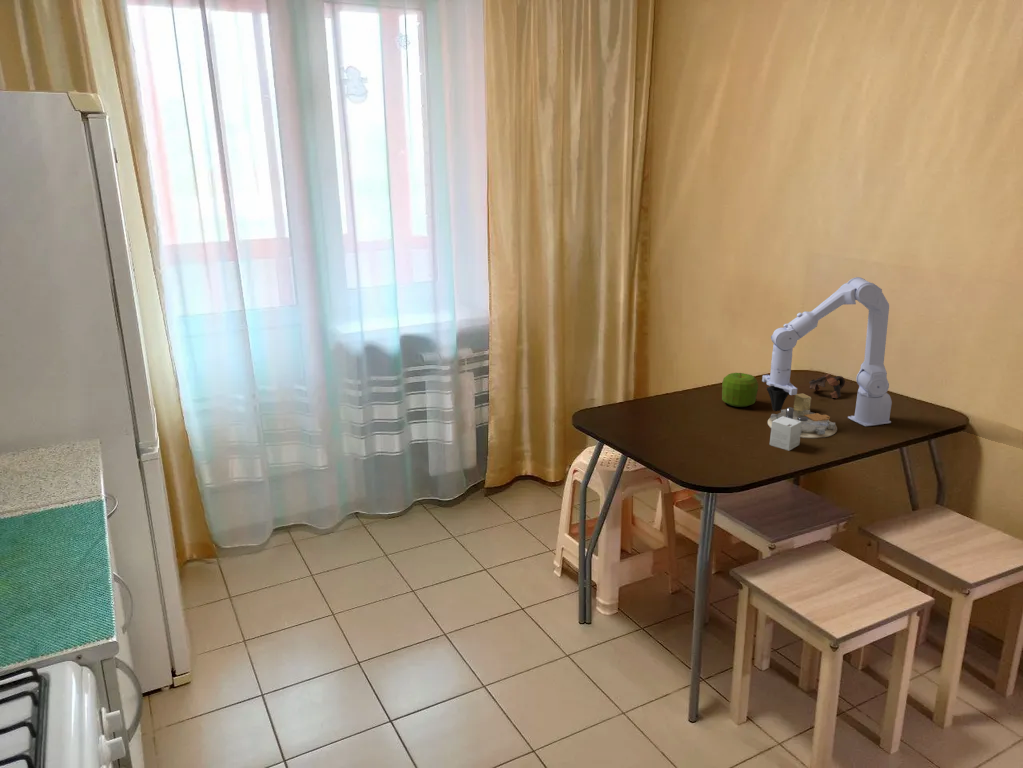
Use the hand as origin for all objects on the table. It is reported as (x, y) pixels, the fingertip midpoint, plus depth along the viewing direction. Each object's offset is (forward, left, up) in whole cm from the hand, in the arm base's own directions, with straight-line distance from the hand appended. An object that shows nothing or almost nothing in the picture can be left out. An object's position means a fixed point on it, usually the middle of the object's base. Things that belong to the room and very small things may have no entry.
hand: (776, 410), depth 229 cm
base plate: (-4, +7, -3) cm, 9 cm away
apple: (+3, -16, -3) cm, 17 cm away
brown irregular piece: (-31, -15, -3) cm, 35 cm away
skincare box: (+10, +18, -3) cm, 21 cm away
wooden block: (-13, -5, -3) cm, 14 cm away
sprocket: (-4, +7, -3) cm, 9 cm away
